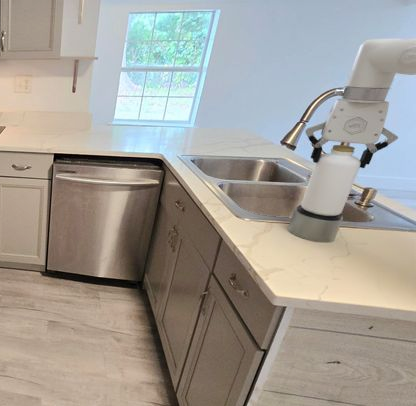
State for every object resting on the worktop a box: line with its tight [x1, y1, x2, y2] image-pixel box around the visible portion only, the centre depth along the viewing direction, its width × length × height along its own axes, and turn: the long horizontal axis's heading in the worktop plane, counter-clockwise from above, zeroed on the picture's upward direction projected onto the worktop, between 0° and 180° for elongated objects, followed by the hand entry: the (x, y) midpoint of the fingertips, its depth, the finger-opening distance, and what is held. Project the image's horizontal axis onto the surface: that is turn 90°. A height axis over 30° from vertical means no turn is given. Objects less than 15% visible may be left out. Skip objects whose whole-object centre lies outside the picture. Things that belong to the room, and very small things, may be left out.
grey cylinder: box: [287, 204, 344, 243], centre depth 101 cm, size 10×10×7 cm
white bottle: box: [300, 144, 361, 216], centre depth 96 cm, size 8×8×18 cm
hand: (337, 163), depth 94 cm, fingers closed on white bottle, 8 cm apart
